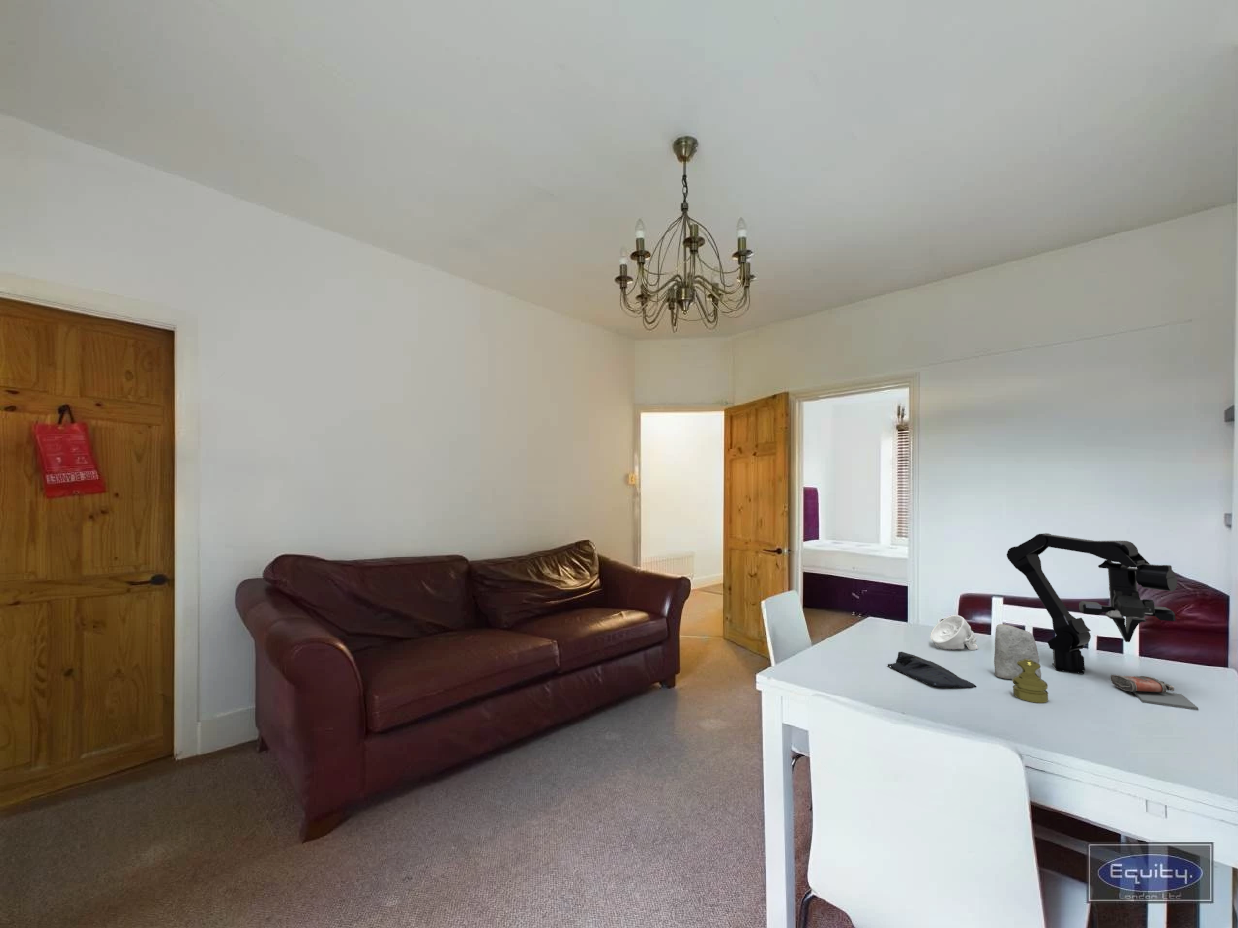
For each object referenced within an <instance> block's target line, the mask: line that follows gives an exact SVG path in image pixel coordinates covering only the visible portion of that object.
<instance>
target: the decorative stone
mask: <svg viewBox="0 0 1238 928" xmlns="http://www.w3.org/2000/svg"><path fill="white" fill-rule="evenodd" d="M994 635H995V636H994V659H993V663H994V664H993V665H994V674H995V677H998V678H1001V679H1006V680H1012V678H1013V677H1014V676H1017V675H1018V674H1020V673H1021V672H1022V671H1023V670H1022V668H1021V667H1020V666H1019V665H1018V664H1017V661H1019V660H1024V659H1031V660H1033V661H1035V662H1037V663H1038V664H1040V659H1039V652H1038V648H1037V643H1036V640H1035V637H1034V635H1033V634H1032V633H1031V632H1030V631H1028V630H1024V629H1021V628H1018V627H1016V626H1012V625H1008V624H1004V623H1003V624H1002V623H999V624H997V625H996V627H995V634H994ZM1035 673H1036V674H1037V675H1038V676H1039V677H1040V678H1041V679H1042V672H1041V667H1040V668H1039V669H1037V670H1036V671H1035Z"/></svg>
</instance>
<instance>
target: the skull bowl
mask: <svg viewBox="0 0 1238 928" xmlns="http://www.w3.org/2000/svg"><path fill="white" fill-rule="evenodd" d="M930 640H931V642H933V644H934V645H936V646H937V647H939V648H941V649H942V648H943V649H942V650H947V649H948V650H951V649H952V650H964V649H965V646H966V647H967V648H968V650H969V651H977V650H978V649H979V646H978V645H977V643H976V642H977V640H978V638H977V636H976V635H975V633H974V631H973V630H972V627H971V625H970V624H969V623H968V622H967V620H966V619H965V618H964V617H963V616H961V615H958V614H952V615H949V616H946V617H945V618H944V619H942V620H941V621H939V622H938V623H937V624H936V625H935V626H934V627H933V628H932V631H931V633H930ZM976 649H977V650H976Z"/></svg>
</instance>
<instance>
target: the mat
mask: <svg viewBox="0 0 1238 928" xmlns="http://www.w3.org/2000/svg"><path fill="white" fill-rule="evenodd" d="M1131 692H1132V693H1133V694H1134V695H1135V696H1136V697H1137V698H1138V699H1139V700H1140V702H1142V703H1145V704H1153V705H1158V706H1166V707H1174V708H1179V709H1180V708H1181V709H1187V710H1193V711H1194V710H1195V711H1199V707H1198V706H1197V705H1196V704H1195V703H1193V702H1192V701H1191V700H1189V699H1188V698H1187V697H1186V696H1185V695H1184V694H1182V693H1176V692H1170V691H1166V693H1158V692H1150V691H1135V692H1133V691H1131Z"/></svg>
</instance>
